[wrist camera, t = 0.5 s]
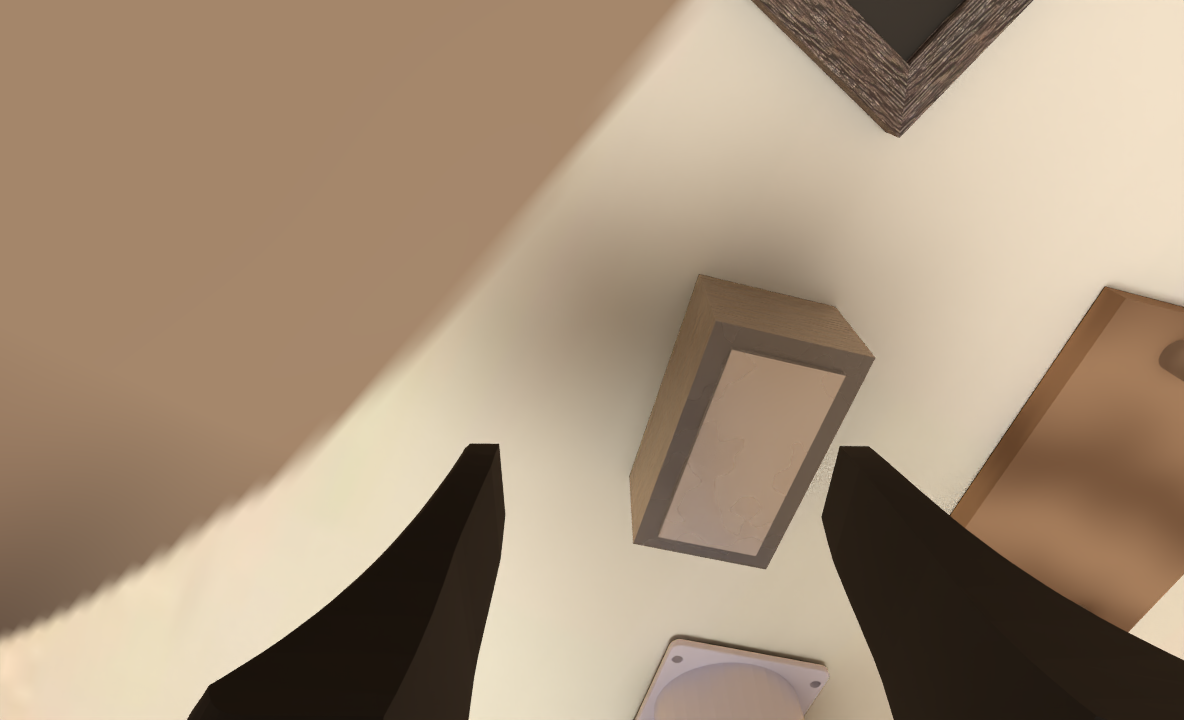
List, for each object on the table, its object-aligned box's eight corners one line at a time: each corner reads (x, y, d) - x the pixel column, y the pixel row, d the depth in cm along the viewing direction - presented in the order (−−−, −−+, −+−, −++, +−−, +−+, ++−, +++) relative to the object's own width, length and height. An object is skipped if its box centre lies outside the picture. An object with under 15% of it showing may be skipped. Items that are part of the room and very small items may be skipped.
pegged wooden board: (1099, 628, 30) (1164, 710, 27) (900, 588, 29) (941, 668, 26) (1354, 351, 23) (1489, 413, 20) (1105, 286, 22) (1199, 339, 19)
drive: (744, 496, 27) (767, 573, 23) (629, 472, 27) (633, 547, 23) (833, 304, 23) (877, 361, 19) (698, 271, 22) (717, 323, 19)
